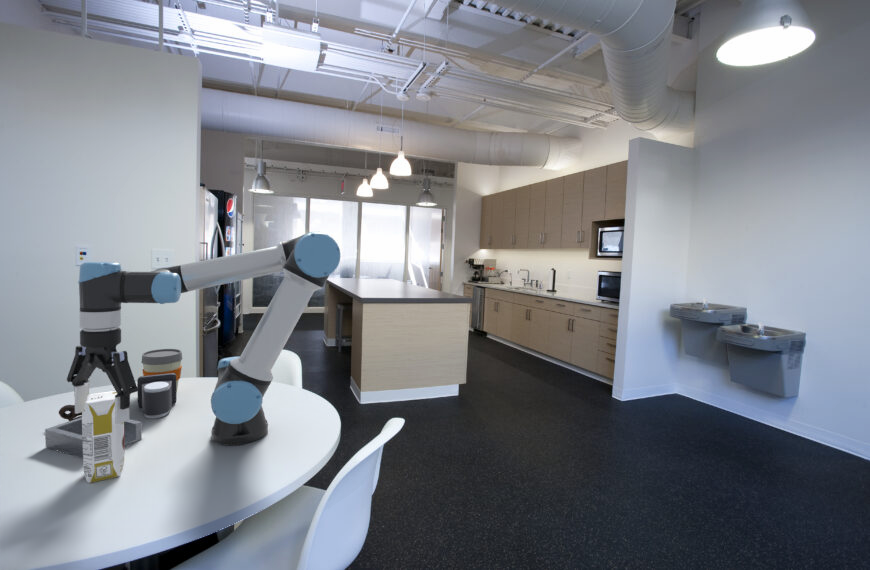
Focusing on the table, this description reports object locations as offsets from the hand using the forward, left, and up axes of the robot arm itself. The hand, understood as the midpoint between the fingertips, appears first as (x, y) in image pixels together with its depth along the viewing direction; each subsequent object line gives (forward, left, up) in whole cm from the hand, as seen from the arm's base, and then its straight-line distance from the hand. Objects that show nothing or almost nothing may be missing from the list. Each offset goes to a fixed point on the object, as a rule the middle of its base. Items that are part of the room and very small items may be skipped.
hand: (101, 416), depth 99 cm
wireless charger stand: (+23, -31, -14) cm, 41 cm away
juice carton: (0, 0, -14) cm, 14 cm away
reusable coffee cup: (+37, -44, -14) cm, 59 cm away
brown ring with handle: (+35, -18, -14) cm, 42 cm away
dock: (+17, -9, -14) cm, 24 cm away
